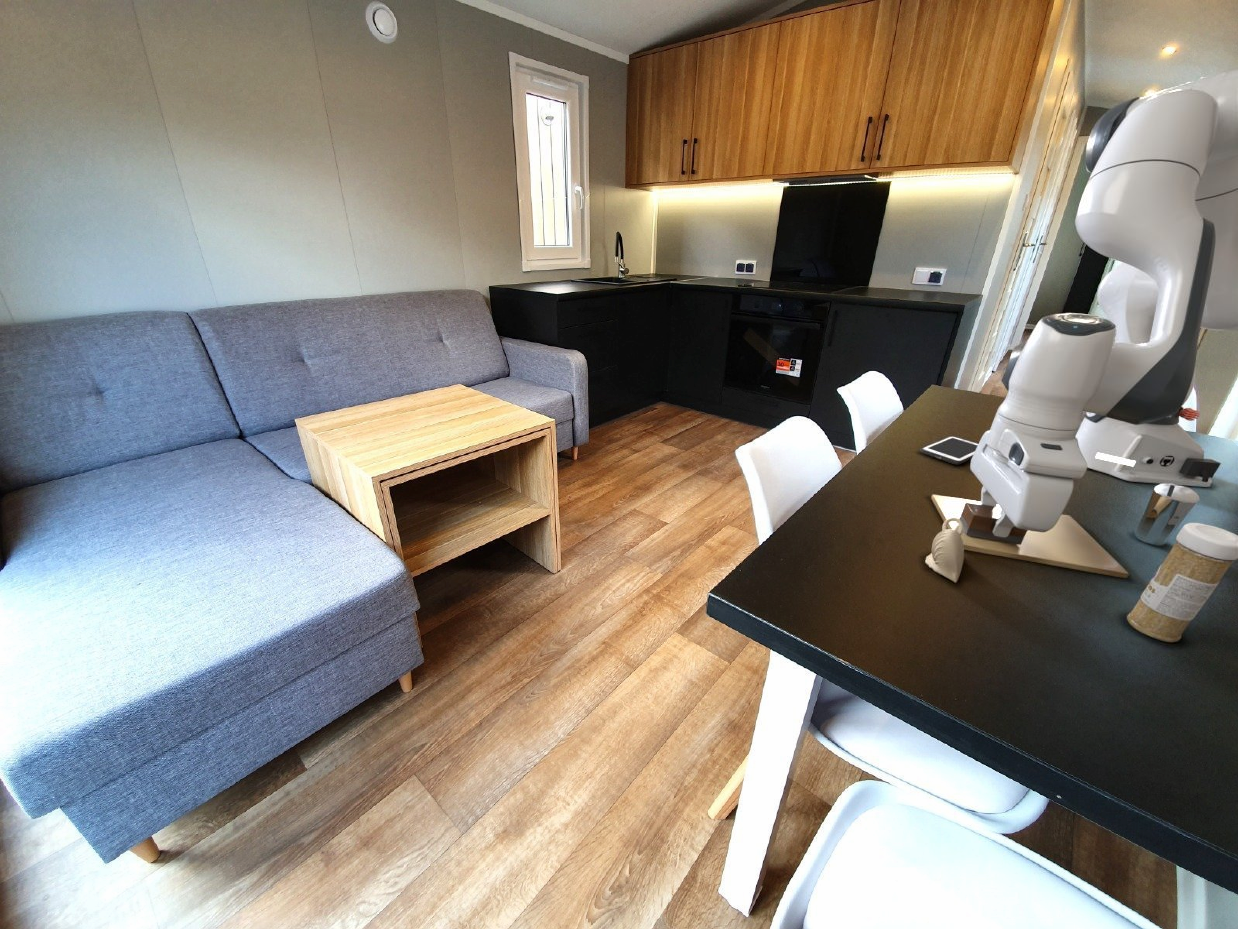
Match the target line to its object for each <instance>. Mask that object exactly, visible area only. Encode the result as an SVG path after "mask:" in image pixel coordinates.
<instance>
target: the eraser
mask: <svg viewBox="0 0 1238 929" xmlns="http://www.w3.org/2000/svg"><path fill="white" fill-rule="evenodd" d="M1001 510H1002V509H1001V508H998V507H992V506H985V505H979V504H973V503H967V502H966V503H965V506H964V508H963V511H962V513H961V516H960V518H959V520H960V521H961V522H962V524H963V531H964V532H965V534H966V535H969V536H974V537H980V538H986V539H991V540H997V541H1003V542H1008V543H1014V544H1019V545H1021V543H1022V541H1023V539H1024V537H1025V535H1026V533H1027V530H1024V529H1019V528H1017V527H1016V526H1014V527H1013V528H1011V531H1010V533H1009V535H1008V536H1007V537H999V536H995V535H994V534H993V532H992V531H991V529H990V528H991V526H992V523H993V521H994V520H996V521H997V520H998V519H999V518H1000V517H1001V514H1000V512H1001Z"/></svg>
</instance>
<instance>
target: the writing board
mask: <svg viewBox="0 0 1238 929" xmlns="http://www.w3.org/2000/svg"><path fill="white" fill-rule="evenodd" d="M930 499H931V500H932V503H933V505H934V506H935V508H936V510H937V512H938V513H939V515H940V517H941V519H942V521H943V523H944V522H945V521H946V520H947V519H949V518H953V517H954V518H958V519H959V518H960V516H961V513H962V511H963V508H964V506H965V503H966V502H967V503H973V504H979V505H980V504H981V501H979V500H978V501H977V500H972V499H965V498H959V497H951V496H946V495H941V494H940V495H939V494H931V496H930ZM996 507H998V508H1001V507H1000V506H999V505H998V504H997V505H996ZM947 529H954V530H956V531H958V530H959V525H958V523H957V522H956V521H951V522H949V523H948V525H947ZM961 537H962V540H963V546H964V551H969V552H970V551H971V552H974V553H975V552H976V553H981V554H985V555H986V554H987V555H993V556H998V557H1004V558H1009V559H1015V560H1021V561H1026V562H1033V563H1038V564H1043V565H1049V566H1054V567H1060V568H1064V569H1065V568H1066V569H1072V570H1077V571H1082V572H1088V573H1094V574H1098V575H1099V574H1100V575H1104V576H1105V575H1106V576H1111V577H1116V578H1122V579H1127V578H1128V577H1129V575H1130V573H1129V572H1128V571H1127V570H1126V569H1125V568H1124V567H1123V566H1122V565H1121V564H1120V563H1119V562H1118V561H1117V560H1116V559H1115V558H1114V557H1113V556H1112V555H1111V554H1110V553H1109V552H1108V551H1106V550H1105V548H1104V547H1103V546H1101V544H1099V543H1098V542H1097V540H1095V539H1094V538H1093V537H1092V536H1091V535H1090V534H1089V533H1088V532H1087V531H1086V530H1085V529H1084V528H1083V527H1082V526H1081V525H1080V524H1079V523H1078V522H1077V521H1076V520H1075V519H1074V518H1073V517H1072V516H1071V515H1068V514H1063V513H1062V514H1061V516H1060V518H1059V520H1058V521H1057V523H1056V525H1055V526H1054V527H1053V528H1052V529H1050V530H1049V531H1047V532H1036V531H1029V530H1027V533H1026V535H1025V537H1024V539H1023V541H1022V543H1021V545H1019V544H1014V543H1008V542H1003V541H997V540H991V539H986V538H980V537H974V536H969V535H966V534H965V532H964V531H963V533H962V535H961Z"/></svg>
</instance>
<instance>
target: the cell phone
mask: <svg viewBox="0 0 1238 929" xmlns="http://www.w3.org/2000/svg"><path fill="white" fill-rule="evenodd" d="M978 444H979V442H976V441H972V440H969V439H965V438H962V437H959V436H955V435H949V436H947V437H945V438H944V437H943V438H942V439H940V440H937V441H935V442H932V443H930V444H927V445H925V446H923V447H921V448H920V453H921V454H923V455H926V456H930V457H932V458H936V459H938V460H941V461H943V462H946V463H950V464H953V465H957V466H958V465H962V464H963V463H966V462H968V461H969V460H970V461H971V459H972V457H973V455H974V452H975V450H976V448H977V446H978Z"/></svg>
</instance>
